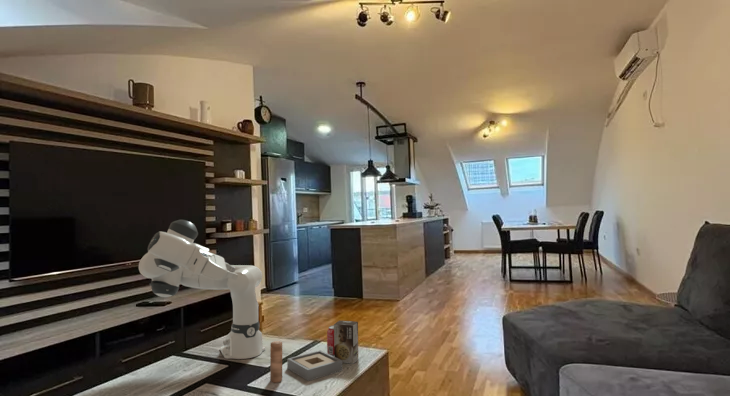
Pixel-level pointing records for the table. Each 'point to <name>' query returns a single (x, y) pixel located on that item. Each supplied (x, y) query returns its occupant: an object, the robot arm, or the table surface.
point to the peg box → (314, 365)
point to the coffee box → (346, 341)
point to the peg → (276, 362)
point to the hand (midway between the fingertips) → (235, 273)
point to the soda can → (330, 340)
